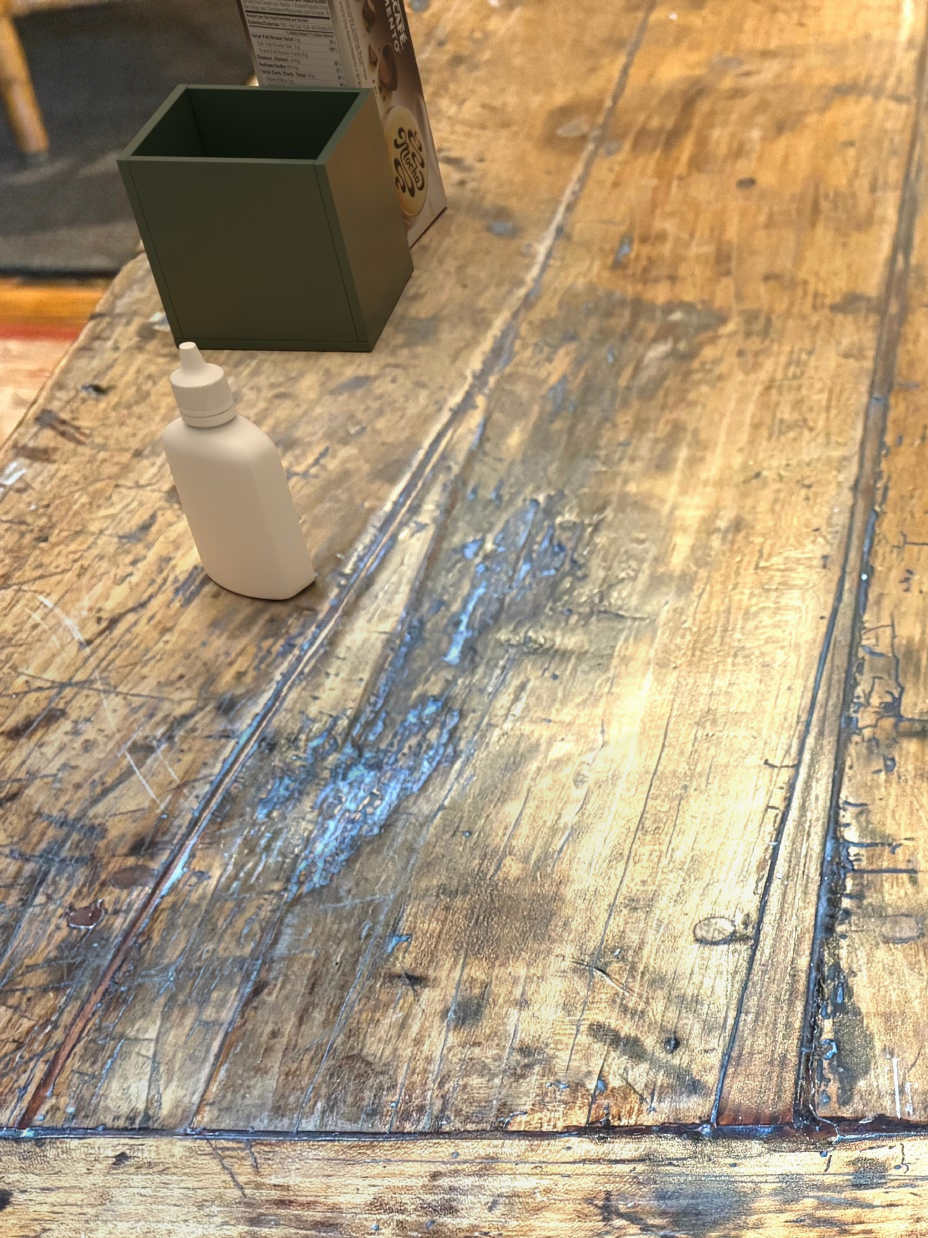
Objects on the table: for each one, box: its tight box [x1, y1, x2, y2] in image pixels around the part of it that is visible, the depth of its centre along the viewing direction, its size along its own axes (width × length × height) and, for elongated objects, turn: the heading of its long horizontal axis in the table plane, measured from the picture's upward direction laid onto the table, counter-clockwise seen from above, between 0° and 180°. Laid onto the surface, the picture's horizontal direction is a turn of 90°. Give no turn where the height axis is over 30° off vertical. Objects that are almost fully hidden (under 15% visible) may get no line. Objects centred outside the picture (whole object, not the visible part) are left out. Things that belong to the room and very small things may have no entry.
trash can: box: [115, 83, 415, 353], centre depth 115 cm, size 11×11×11 cm
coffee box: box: [235, 0, 448, 249], centre depth 120 cm, size 9×6×16 cm
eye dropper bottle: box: [161, 342, 316, 600], centre depth 94 cm, size 4×6×12 cm
